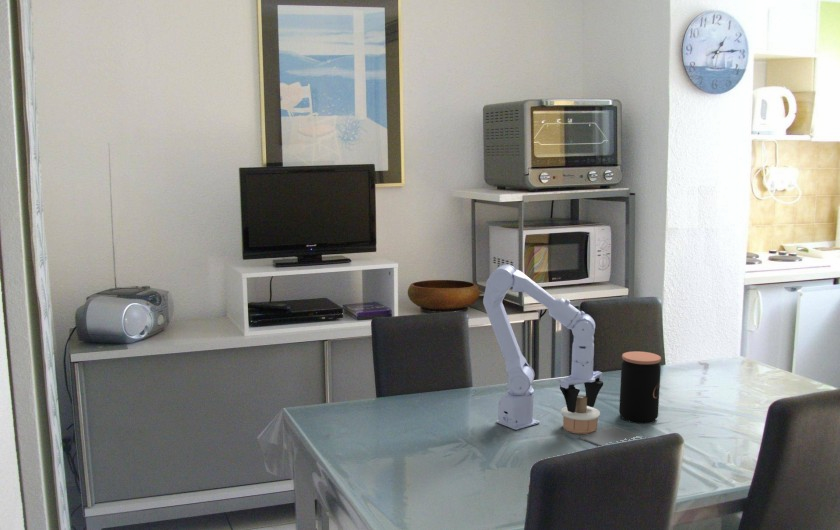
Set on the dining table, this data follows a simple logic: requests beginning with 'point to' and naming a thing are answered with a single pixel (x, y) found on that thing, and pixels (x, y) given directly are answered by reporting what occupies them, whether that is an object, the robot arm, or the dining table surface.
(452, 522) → the dining table surface
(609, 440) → the mat
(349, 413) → the dining table surface
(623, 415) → the coffee jar
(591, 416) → the lid
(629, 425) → the dining table surface
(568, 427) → the bowl
